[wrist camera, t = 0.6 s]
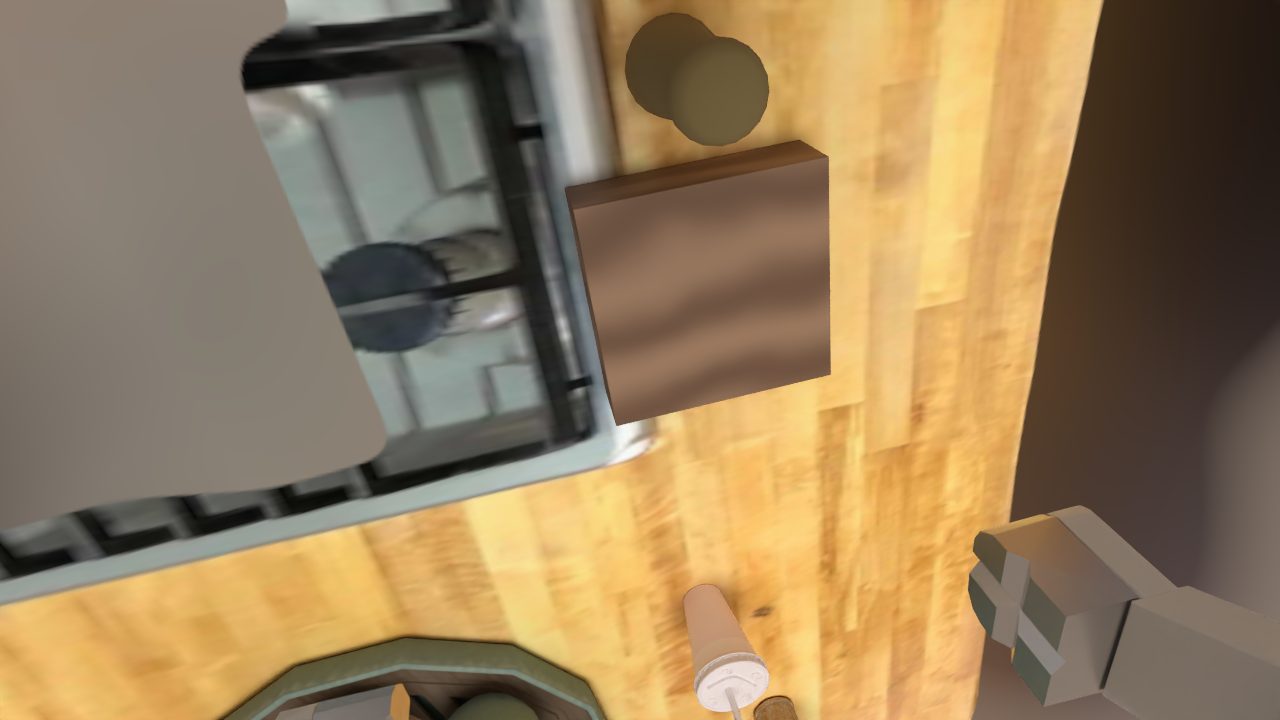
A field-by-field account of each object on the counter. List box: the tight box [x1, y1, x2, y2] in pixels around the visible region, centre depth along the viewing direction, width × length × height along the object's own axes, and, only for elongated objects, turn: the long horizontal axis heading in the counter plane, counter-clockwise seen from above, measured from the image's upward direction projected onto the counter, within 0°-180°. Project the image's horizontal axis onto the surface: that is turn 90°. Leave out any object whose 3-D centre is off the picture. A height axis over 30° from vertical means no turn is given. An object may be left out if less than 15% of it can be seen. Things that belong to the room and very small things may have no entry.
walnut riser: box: [565, 140, 831, 426], centre depth 50 cm, size 16×16×5 cm
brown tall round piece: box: [625, 13, 769, 146], centre depth 40 cm, size 6×6×11 cm
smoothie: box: [683, 584, 769, 720], centre depth 62 cm, size 6×6×14 cm
